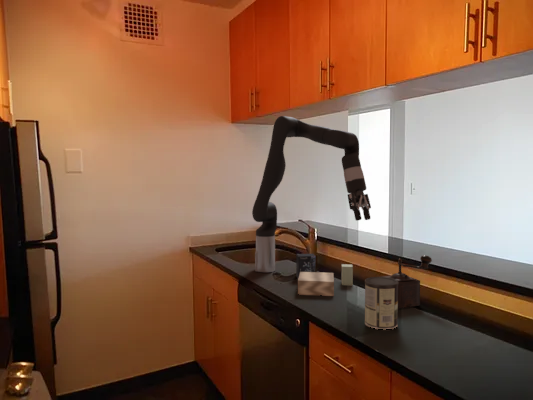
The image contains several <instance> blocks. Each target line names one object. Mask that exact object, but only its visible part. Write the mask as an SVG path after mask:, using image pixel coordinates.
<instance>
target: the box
mask: <svg viewBox="0 0 533 400" xmlns="http://www.w3.org/2000/svg"><path fill="white" fill-rule="evenodd" d="M316 259H317V257H316V255H315V253H296V261H295V262H296V265H295V268H296V269H295V271H296V272H295V276H296V278H297V279H298V278H299V274H300V272H316V263H317V262H316Z"/></svg>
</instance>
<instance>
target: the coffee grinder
mask: <svg viewBox="0 0 533 400" xmlns="http://www.w3.org/2000/svg"><path fill="white" fill-rule="evenodd" d="M419 259H420V262H421V264H420V266H418V265H413V264H404V263H402V262H403V259H402V258H398V262H397V265H398V272H396V273H393V274H391V275H383V276H382V275H381V277H386V278H392V279H395V280H397V281H398V282H399V284H398V310H402V309H409V307H410V308H412V307H413V308H414V307H417V306H421V301H420V300H421V294H420V293H421V280H420V279H417V278H415V277H410V276H409V275H407V274H406V273H404V272H402V267H405V268H413V269H416V270H417V269H418V270H425V269H429V265H430V264H431V263H432V261H433V259H432V257H431V256H429V255H425V254H423V255H421V256H420V258H419ZM401 308H402V309H401Z"/></svg>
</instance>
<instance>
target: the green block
mask: <svg viewBox="0 0 533 400" xmlns="http://www.w3.org/2000/svg"><path fill="white" fill-rule="evenodd" d="M340 275H341V279H340V280H341V286H353V284H354V283H353V281H354V279H353V278H354V277H353V276H354V266H353V264H346V263H345V264H344V263H341V274H340Z"/></svg>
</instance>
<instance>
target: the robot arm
mask: <svg viewBox="0 0 533 400" xmlns="http://www.w3.org/2000/svg"><path fill="white" fill-rule="evenodd" d="M287 138H305V139H308V140H311V141H312V142H314V143H318V144H321V145H325V146H332V147H334V148H337V149H341V150H344V151H343V152H344V155H343V156H342V157H341V165H342V169H343V176H344V181H345V186H346V192H347V201H348V206H349V210H351V211H352V212H353V213H354V220H355V221H361V220H362V215H361V210H362V214H363V218H364V221H369V220H371V215H370V209H371V208H372V207H371V203H370V202H371V201H370V198H369V194H368V193H365V194H364V191H366V190H367V184H366V181H365V175H364V171H363V169H362V164H361V161H360V142H359V139H358V137H357V135H356V134H355V133H353V132H349V131H345V130H341V129H340V130H339V129H335V128H330V127H326V126H321V125H315V124H311V123H306V122H304V121H302V120H300V119H297V118H295V117H293V116H287V115H281V116H278V117H277V118H276V119H275V121H274V123H273V127H272V134H271V140H270V146H269V151H268V155H267V160H266V163H265V167H264V171H263V175H262V180H261V182H260V187H259V190H258V192H257V196H256V199H255V201H254V203H253V207H252V212H251V213H252V218H253V220H254V221H255V222H256V223H261V225H260V226H259V227H258V228H256V230H255V251H254V259H255V260H254V264H255V266H254V267H255V268H254V271H255V272H258V273H272V272H274V271H276V232H277V225H278V224H277V223H278V209H277V206H276V205H275V203H273V202H271V201H270V200H271V197H272V195H273V194H274V193H275V191H276V190H277V188H278V187H279V186H280V184H281V183H282V181H283V179H284V175H285V171H286V167H287V166H286V158H285V153H284V150H285V149H284V147H285V143H286V140H287ZM360 208H361V210H360Z"/></svg>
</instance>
